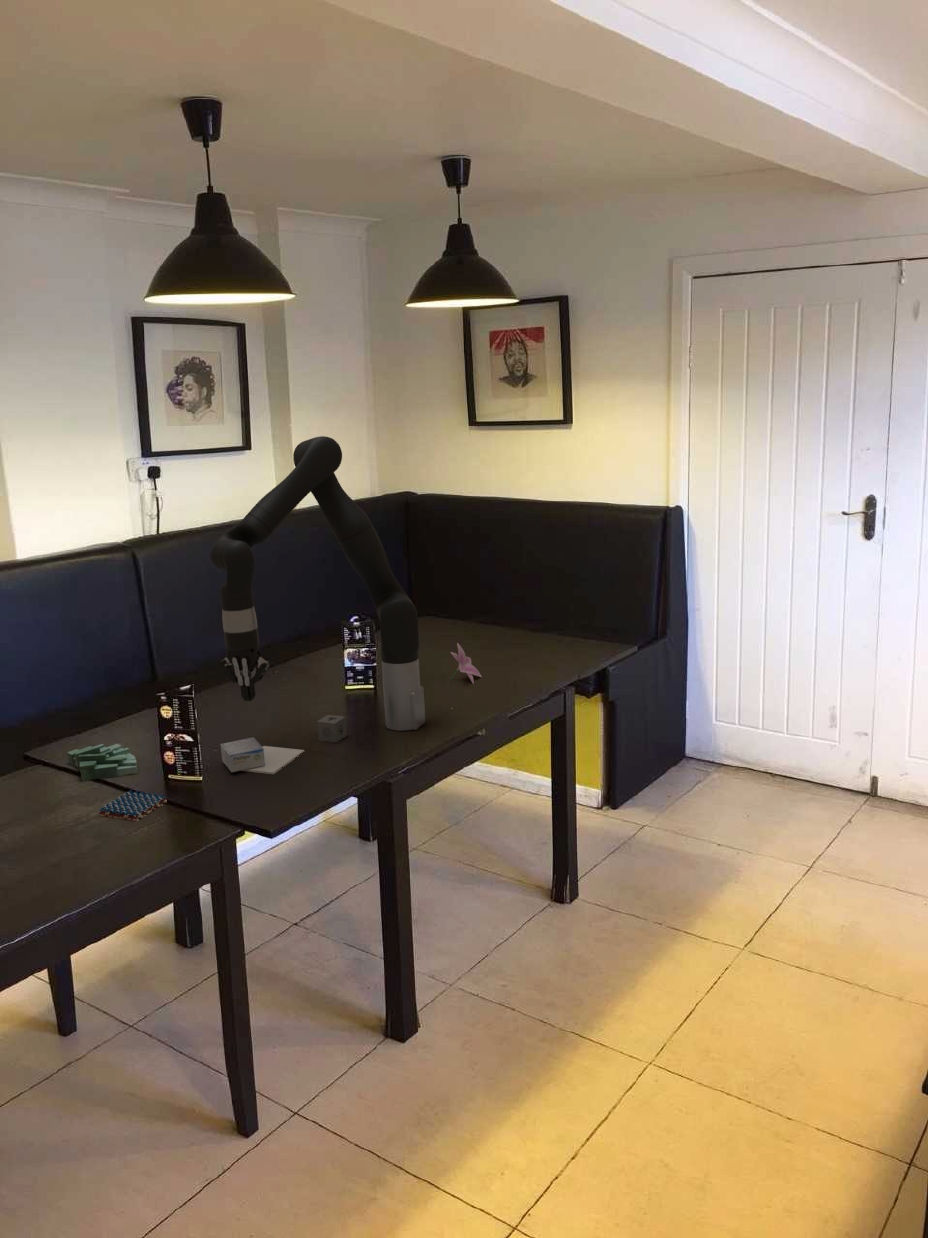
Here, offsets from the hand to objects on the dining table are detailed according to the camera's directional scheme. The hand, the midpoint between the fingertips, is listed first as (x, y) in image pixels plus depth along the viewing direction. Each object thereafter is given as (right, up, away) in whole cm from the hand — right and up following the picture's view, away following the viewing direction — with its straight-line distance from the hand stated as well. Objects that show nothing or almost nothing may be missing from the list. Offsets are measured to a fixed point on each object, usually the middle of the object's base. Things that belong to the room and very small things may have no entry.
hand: (248, 700), depth 238 cm
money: (-34, -16, +3) cm, 38 cm away
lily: (+50, +1, +56) cm, 75 cm away
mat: (+4, -14, +2) cm, 15 cm away
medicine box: (-3, -11, +3) cm, 12 cm away
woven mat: (-20, -22, -20) cm, 36 cm away
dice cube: (+17, -11, +15) cm, 25 cm away
